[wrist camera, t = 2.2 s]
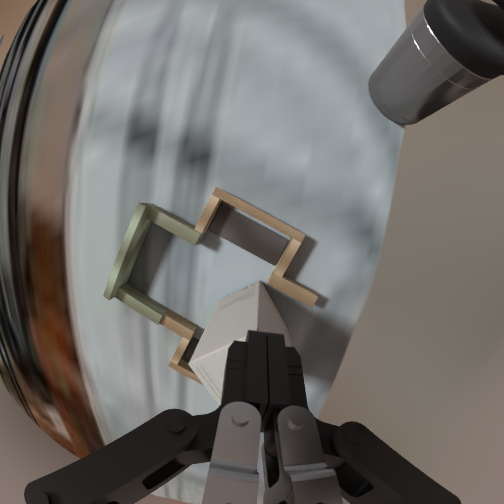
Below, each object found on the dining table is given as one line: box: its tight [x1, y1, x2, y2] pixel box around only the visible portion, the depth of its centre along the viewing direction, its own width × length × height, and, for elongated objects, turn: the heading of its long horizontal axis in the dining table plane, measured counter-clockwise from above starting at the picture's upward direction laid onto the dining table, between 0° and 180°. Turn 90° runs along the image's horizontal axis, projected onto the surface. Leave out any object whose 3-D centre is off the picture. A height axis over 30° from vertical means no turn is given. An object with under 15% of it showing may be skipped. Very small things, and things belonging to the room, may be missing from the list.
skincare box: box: [189, 281, 292, 406], centre depth 27 cm, size 8×7×16 cm
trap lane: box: [103, 187, 318, 385], centre depth 33 cm, size 24×24×4 cm
